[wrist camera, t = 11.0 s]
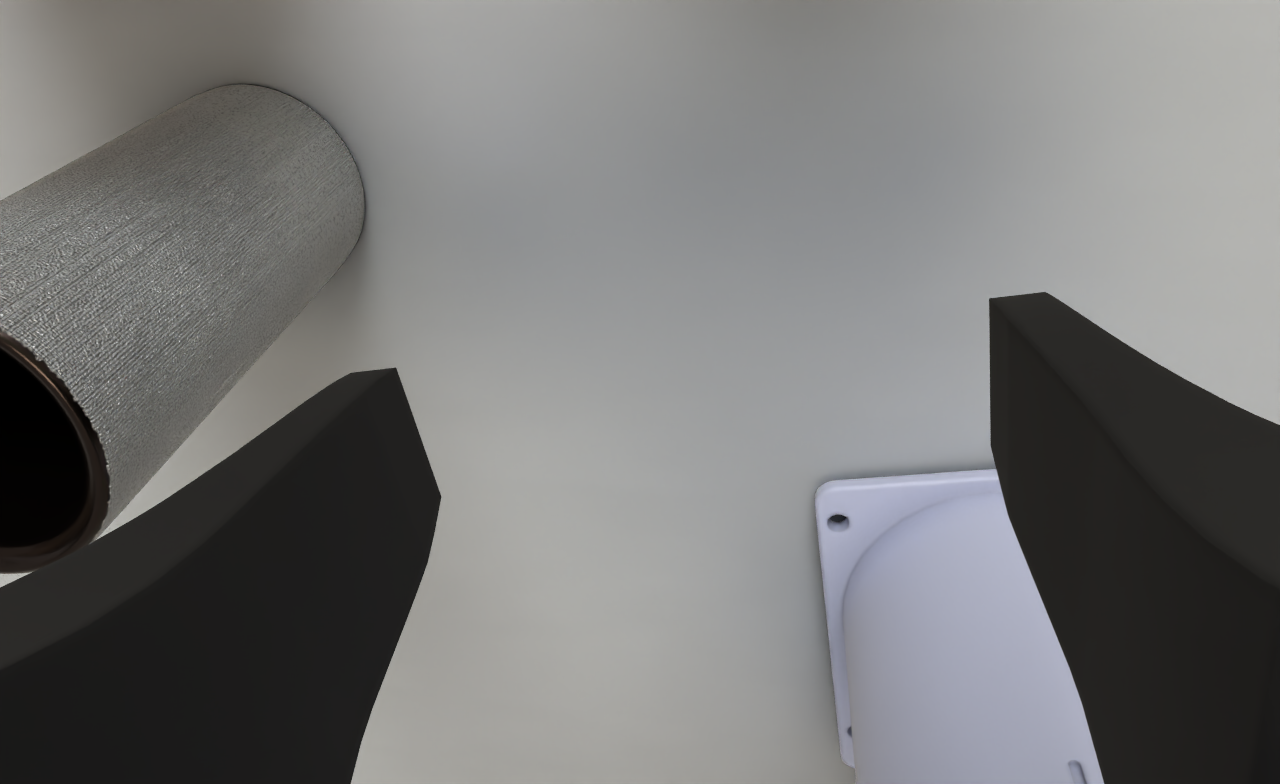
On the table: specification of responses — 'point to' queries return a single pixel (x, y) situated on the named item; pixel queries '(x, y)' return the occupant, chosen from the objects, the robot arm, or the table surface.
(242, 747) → the robot arm
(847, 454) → the table surface
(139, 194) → the planter
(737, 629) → the table surface
